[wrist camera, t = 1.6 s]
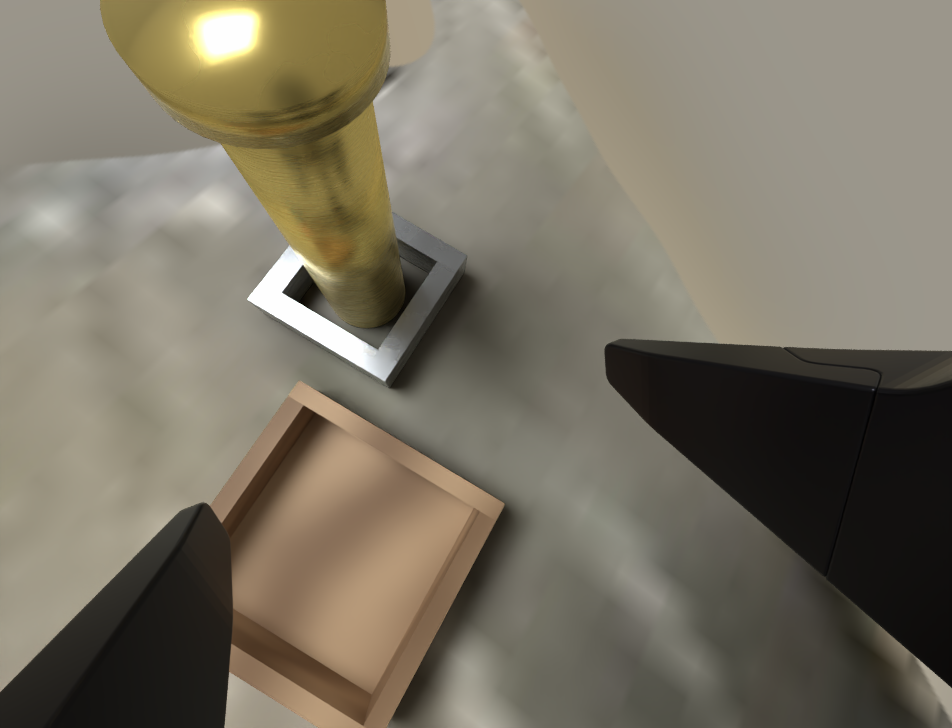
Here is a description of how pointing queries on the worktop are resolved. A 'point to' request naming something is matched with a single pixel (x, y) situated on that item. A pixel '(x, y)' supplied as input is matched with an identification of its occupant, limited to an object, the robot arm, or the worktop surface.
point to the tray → (342, 560)
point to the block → (383, 365)
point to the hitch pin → (285, 122)
